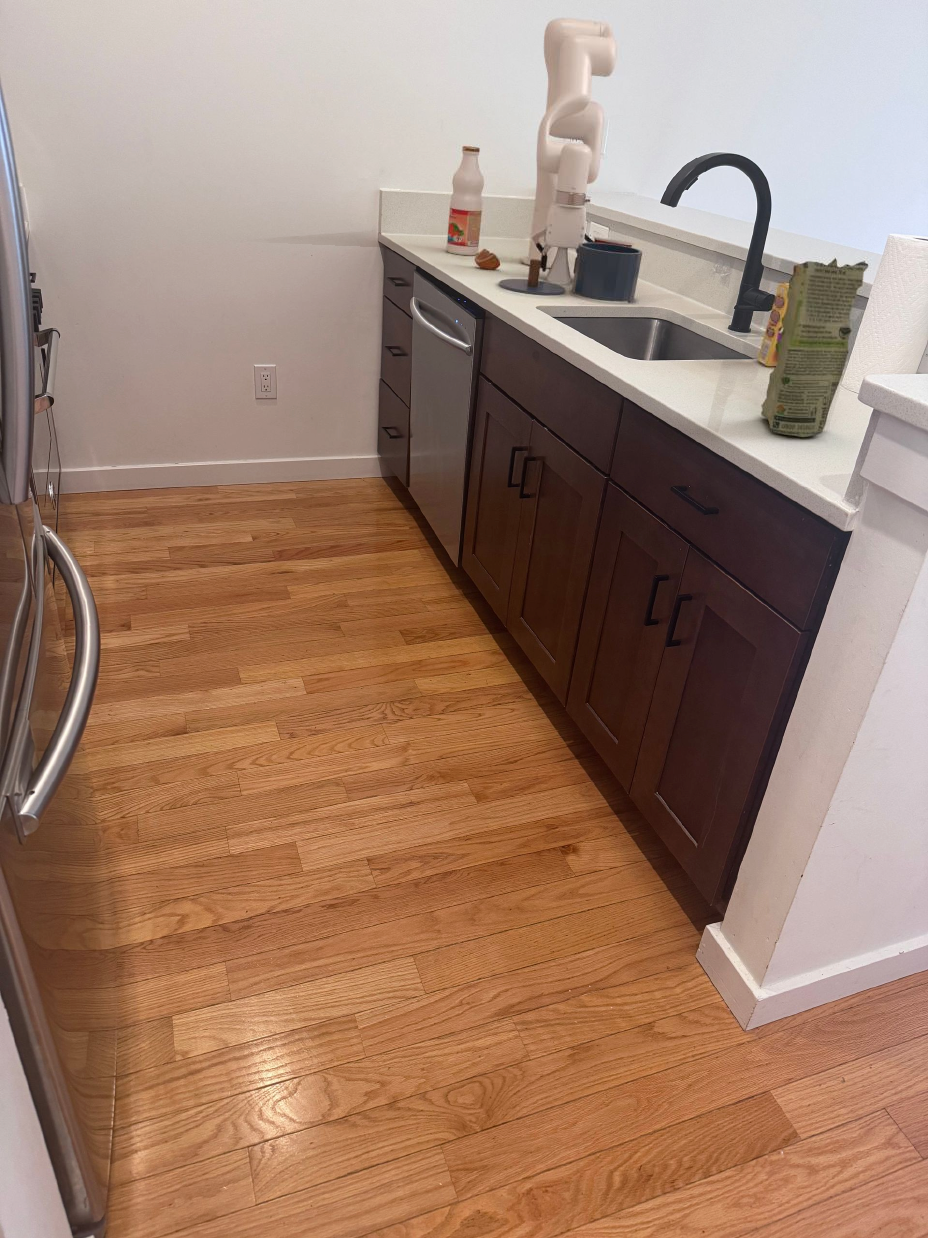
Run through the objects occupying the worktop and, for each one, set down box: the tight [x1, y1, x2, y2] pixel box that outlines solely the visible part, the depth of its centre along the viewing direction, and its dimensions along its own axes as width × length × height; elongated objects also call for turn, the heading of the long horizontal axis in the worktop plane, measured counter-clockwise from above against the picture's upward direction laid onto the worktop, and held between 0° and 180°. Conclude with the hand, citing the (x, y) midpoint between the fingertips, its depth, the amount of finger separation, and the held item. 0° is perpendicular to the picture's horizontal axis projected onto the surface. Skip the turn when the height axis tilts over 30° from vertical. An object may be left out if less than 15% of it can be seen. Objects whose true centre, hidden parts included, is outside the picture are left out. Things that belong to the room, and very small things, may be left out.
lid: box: [498, 259, 566, 296], centre depth 217 cm, size 17×17×7 cm
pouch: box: [760, 257, 869, 438], centre depth 132 cm, size 11×12×25 cm
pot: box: [571, 242, 643, 304], centre depth 218 cm, size 16×16×12 cm
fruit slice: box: [474, 248, 501, 271], centre depth 237 cm, size 8×7×5 cm
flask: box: [545, 247, 573, 284], centre depth 231 cm, size 7×7×10 cm
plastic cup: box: [592, 235, 635, 248], centre depth 232 cm, size 11×11×12 cm
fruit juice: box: [446, 145, 485, 256], centre depth 254 cm, size 9×9×28 cm
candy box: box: [757, 281, 789, 367], centre depth 171 cm, size 9×4×15 cm, turn 103°
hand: (559, 272), depth 232 cm, fingers open, 7 cm apart
